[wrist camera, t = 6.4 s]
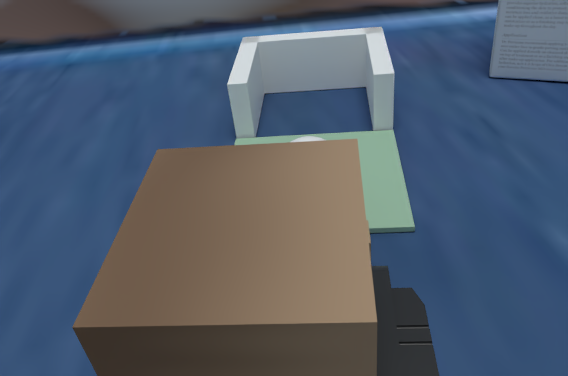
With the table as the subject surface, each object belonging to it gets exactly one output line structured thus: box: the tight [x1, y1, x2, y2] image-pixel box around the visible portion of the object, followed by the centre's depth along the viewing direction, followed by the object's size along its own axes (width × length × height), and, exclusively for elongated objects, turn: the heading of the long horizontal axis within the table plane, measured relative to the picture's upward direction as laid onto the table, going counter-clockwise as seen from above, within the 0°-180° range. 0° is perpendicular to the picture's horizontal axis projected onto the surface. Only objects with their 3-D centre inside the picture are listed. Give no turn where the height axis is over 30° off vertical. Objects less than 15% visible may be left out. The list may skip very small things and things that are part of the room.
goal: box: [227, 27, 394, 139], centre depth 35 cm, size 10×8×4 cm
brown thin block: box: [72, 139, 377, 376], centre depth 16 cm, size 4×15×12 cm, turn 177°
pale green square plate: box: [235, 130, 415, 233], centre depth 29 cm, size 10×9×1 cm
